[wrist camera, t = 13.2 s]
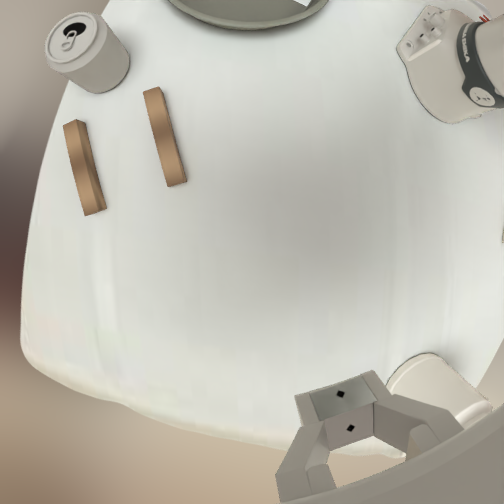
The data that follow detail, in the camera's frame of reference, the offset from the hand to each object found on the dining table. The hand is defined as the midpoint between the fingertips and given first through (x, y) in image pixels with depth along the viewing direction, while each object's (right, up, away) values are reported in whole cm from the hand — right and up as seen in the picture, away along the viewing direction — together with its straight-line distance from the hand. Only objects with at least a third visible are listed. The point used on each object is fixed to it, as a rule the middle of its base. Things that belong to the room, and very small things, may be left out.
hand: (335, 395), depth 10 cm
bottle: (+27, -19, +39) cm, 51 cm away
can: (-22, +29, +23) cm, 43 cm away
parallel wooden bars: (-19, +18, +25) cm, 36 cm away
